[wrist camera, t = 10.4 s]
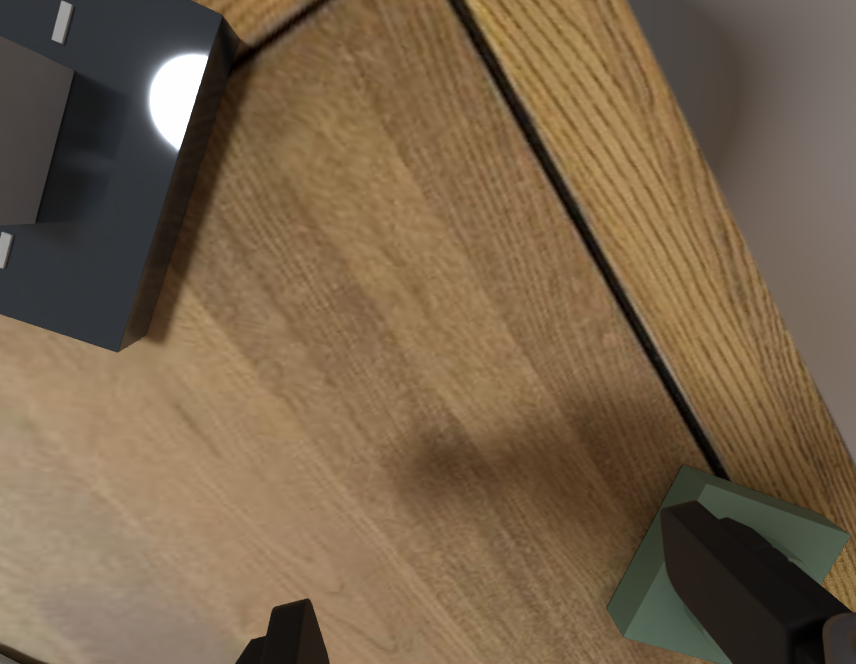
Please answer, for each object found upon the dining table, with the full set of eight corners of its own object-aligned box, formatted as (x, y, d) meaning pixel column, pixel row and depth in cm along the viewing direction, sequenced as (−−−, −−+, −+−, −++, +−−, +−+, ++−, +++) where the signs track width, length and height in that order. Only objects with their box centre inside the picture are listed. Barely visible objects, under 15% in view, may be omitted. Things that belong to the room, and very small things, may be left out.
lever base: (-12, -77, 21) (-76, -125, 18) (240, 38, 23) (221, 13, 20) (-89, 257, 23) (-157, 265, 20) (145, 336, 25) (116, 354, 22)
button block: (682, 463, 30) (729, 501, 26) (819, 513, 32) (881, 555, 28) (606, 608, 32) (639, 664, 28) (740, 647, 34) (788, 704, 30)
